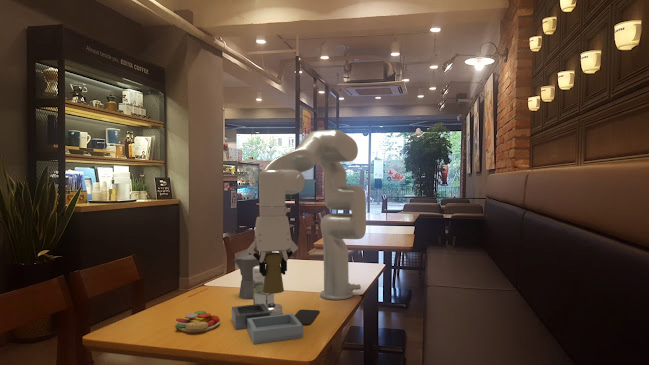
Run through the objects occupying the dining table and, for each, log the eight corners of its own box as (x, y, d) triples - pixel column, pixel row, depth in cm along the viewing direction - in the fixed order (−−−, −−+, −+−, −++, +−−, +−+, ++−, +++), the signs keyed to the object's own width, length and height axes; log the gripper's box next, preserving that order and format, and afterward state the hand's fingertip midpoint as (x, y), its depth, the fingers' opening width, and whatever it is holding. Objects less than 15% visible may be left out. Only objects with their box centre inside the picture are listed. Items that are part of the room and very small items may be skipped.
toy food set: (195, 337, 127) (195, 326, 127) (165, 330, 134) (165, 319, 134) (228, 324, 138) (228, 314, 138) (199, 318, 145) (199, 308, 145)
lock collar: (279, 310, 152) (279, 298, 152) (289, 323, 138) (289, 310, 138) (230, 315, 146) (230, 303, 146) (235, 329, 132) (235, 316, 132)
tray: (292, 324, 136) (292, 313, 136) (302, 337, 125) (302, 325, 125) (247, 330, 132) (247, 318, 132) (253, 344, 120) (253, 331, 120)
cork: (280, 293, 124) (279, 255, 124) (260, 293, 126) (259, 254, 126) (286, 288, 130) (285, 251, 130) (267, 288, 132) (266, 251, 132)
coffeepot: (236, 301, 164) (235, 252, 164) (231, 295, 173) (230, 249, 173) (276, 296, 170) (275, 249, 170) (269, 290, 179) (268, 246, 179)
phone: (320, 310, 150) (310, 324, 135) (320, 312, 150) (310, 326, 135) (299, 309, 151) (286, 322, 137) (299, 311, 151) (286, 325, 137)
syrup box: (274, 305, 157) (274, 265, 157) (267, 310, 152) (266, 268, 152) (260, 304, 159) (260, 264, 159) (252, 308, 154) (252, 267, 154)
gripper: (297, 210, 134) (298, 270, 134) (241, 212, 129) (242, 274, 129) (304, 212, 127) (304, 274, 127) (244, 214, 122) (245, 279, 122)
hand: (273, 273), depth 128 cm, fingers closed on cork, 5 cm apart
